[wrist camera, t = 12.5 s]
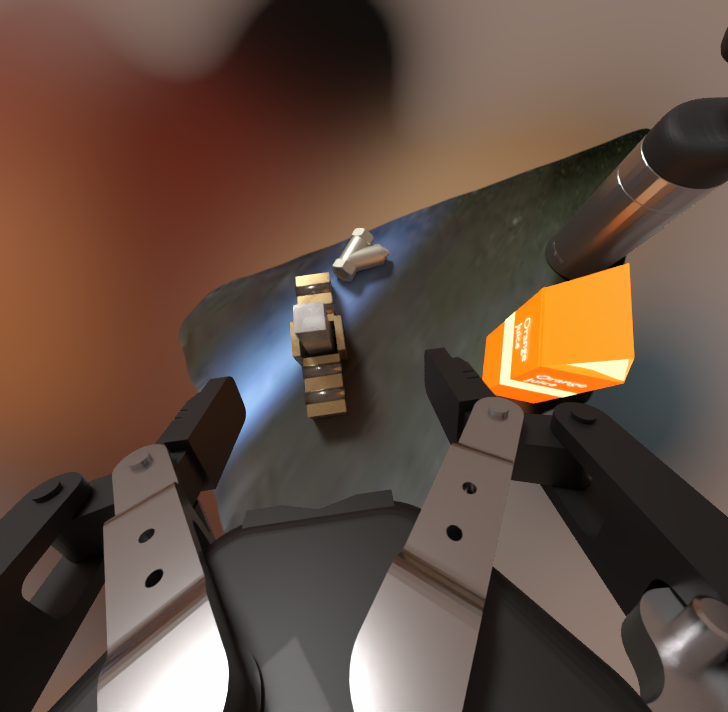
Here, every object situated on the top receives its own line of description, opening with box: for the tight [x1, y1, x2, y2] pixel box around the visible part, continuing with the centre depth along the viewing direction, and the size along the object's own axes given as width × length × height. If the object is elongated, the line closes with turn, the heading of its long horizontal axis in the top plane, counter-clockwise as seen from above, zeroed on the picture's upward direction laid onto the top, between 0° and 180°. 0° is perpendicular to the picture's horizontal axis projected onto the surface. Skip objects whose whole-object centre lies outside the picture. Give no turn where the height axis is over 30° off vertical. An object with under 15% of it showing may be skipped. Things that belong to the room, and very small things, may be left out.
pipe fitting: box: [332, 228, 389, 282], centre depth 45 cm, size 8×4×7 cm
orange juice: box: [482, 263, 634, 403], centre depth 32 cm, size 8×9×20 cm
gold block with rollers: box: [290, 272, 348, 419], centre depth 40 cm, size 7×21×5 cm, turn 8°
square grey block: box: [293, 302, 336, 357], centre depth 37 cm, size 4×4×11 cm
